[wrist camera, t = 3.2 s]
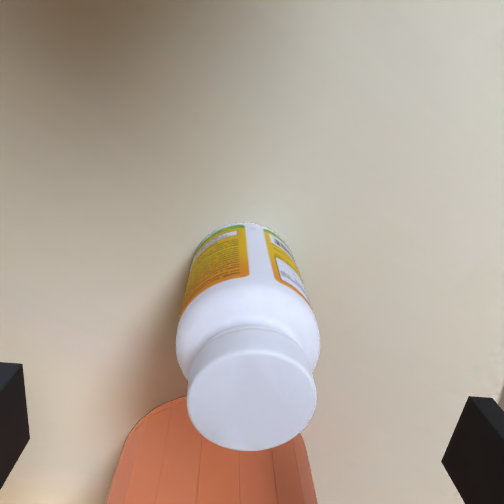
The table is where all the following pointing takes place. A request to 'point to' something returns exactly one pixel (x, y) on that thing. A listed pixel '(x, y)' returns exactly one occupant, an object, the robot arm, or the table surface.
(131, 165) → the table surface
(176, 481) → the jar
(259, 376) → the supplement bottle
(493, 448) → the robot arm
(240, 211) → the table surface
